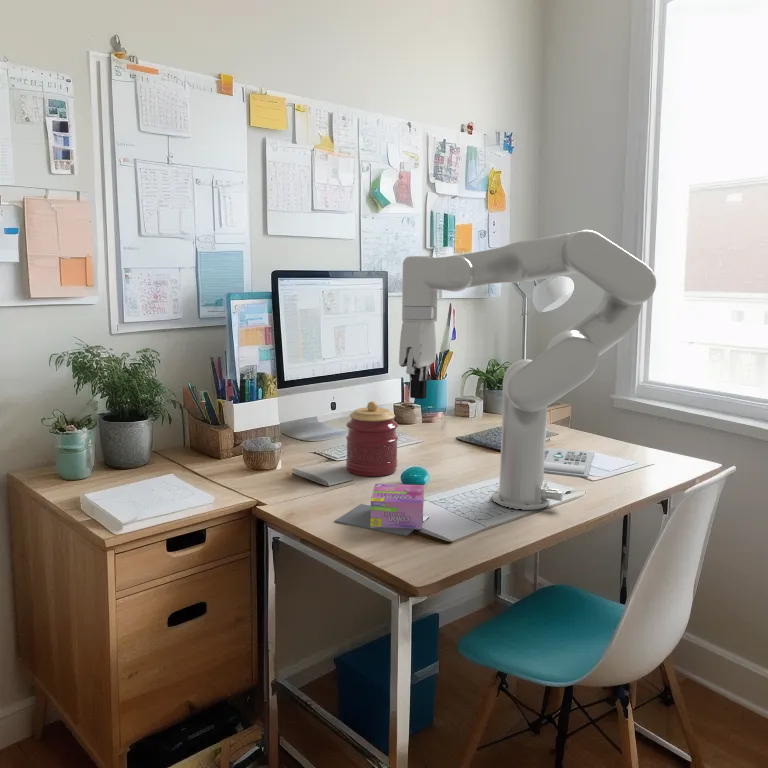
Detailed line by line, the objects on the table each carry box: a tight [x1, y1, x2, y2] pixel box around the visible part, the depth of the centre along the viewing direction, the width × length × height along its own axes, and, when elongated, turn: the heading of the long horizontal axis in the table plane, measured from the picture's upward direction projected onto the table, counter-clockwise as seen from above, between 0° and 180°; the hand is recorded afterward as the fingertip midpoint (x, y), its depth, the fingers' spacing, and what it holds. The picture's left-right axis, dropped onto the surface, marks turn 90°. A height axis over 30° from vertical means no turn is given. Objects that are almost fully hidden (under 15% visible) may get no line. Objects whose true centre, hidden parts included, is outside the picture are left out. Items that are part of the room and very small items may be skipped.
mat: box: [334, 503, 415, 537], centre depth 149 cm, size 16×12×1 cm
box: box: [370, 483, 425, 531], centre depth 148 cm, size 10×6×12 cm
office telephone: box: [544, 447, 596, 479], centre depth 194 cm, size 23×3×20 cm
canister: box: [345, 400, 399, 477], centre depth 182 cm, size 13×13×18 cm
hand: (418, 397), depth 160 cm, fingers closed
